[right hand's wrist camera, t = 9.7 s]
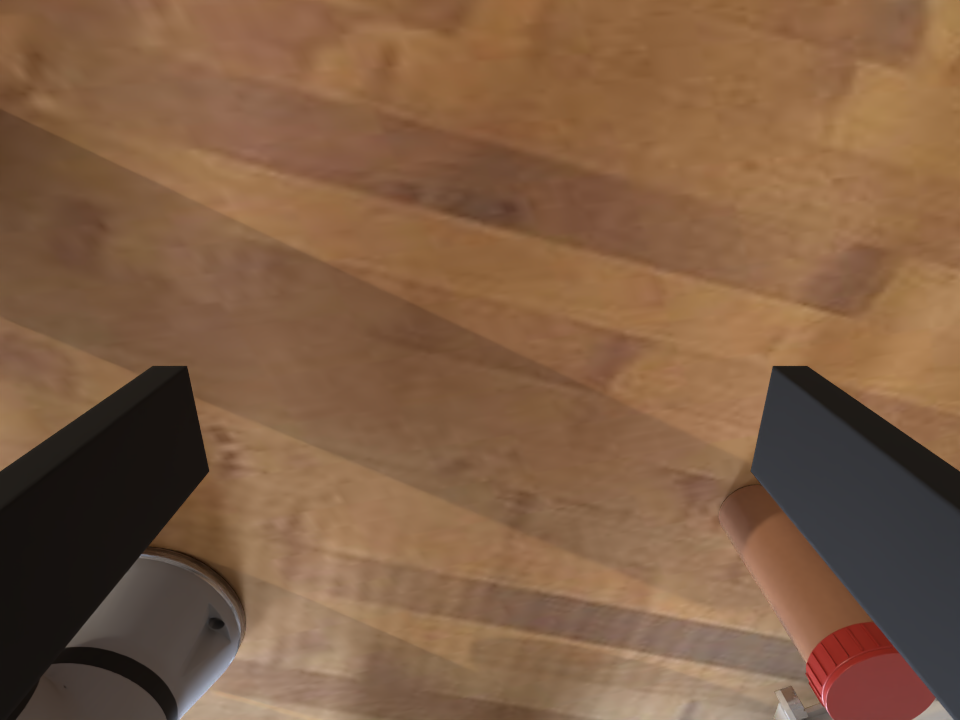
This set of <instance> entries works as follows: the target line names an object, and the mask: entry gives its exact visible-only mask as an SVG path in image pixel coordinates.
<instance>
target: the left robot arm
mask: <svg viewBox="0 0 960 720" xmlns="http://www.w3.org/2000/svg"><path fill="white" fill-rule="evenodd" d="M775 694H776V696H777V698H778V700H779V701H780V703H779V704H778V707H777V710H776V713H775V715H774V718H775V720H834V719H833V718H832V717H831V716H830V715H829V713H828V712H827V710H826V708H825V707H823V706H822V704H821V703H819V704H816V705H813V706H811V707H808V708H805V709H804V707H803V705H802V703H801V702H800V700H799V698H798V696H797V695H796V693H795V691H794V689H793V687H792V686H789V687H787V688H784V689H781V690H777V691H775ZM912 720H953V718H952V717H951V716H950V715H949V713H948V712H947V711H946V710H945V709H944V707H943V706H942V705H941V704H940V702H939V701H938V700H937V699H936V698H935V700H934V701H933V703H932V704H931V705H930V706H929V707H928V708H927V709H926V710H925V711H924V712H923V713H921V714H920V715H919V716H917V717H916V718H914V719H912Z"/></svg>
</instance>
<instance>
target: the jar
mask: <svg viewBox="0 0 960 720" xmlns="http://www.w3.org/2000/svg"><path fill="white" fill-rule="evenodd" d="M719 522H720V525H721V527H722V529H723V530H724V532H725V533H726V535H727V537H728V538H729V540H730V542H731V543H732V545H733V546H734V548H735V550H736V551H737V553H738V554H739V556H740V558H741V559H742V561H743V563H744V564H745V566H746V567H747V569H748V571H749V572H750V574H751V575H752V577H753V579H754V580H755V582H756V584H757V585H758V587H759V588H760V590H761V592H762V593H763V595H764V597H765V598H766V600H767V601H768V603H769V605H770V606H771V608H772V609H773V611H774V613H775V614H776V616H777V618H778V619H779V621H780V622H781V624H782V626H783V627H784V629H785V630H786V632H787V634H788V635H789V637H790V639H791V640H792V642H793V643H794V645H795V647H796V648H797V650H798V651H799V653H800V655H801V656H802V658H803V660H804V661H805V663H807V661H808V658H809V656H810V654H811V652H812V651H813V649H814V648H815V647H816V646H817V644H818V643H819V642H821V641H822V640H823V639H824V638H825V637H827V636H828V635H830V634H831V633H833V632H835V631H837V630H839V629H841V628H844V627H847V626H850V625H853V624H858V623H865V622H873V620H872V619H871V618H870V617H869V615H868V614H867V613H866V612H865V611H864V609H863V608H862V607H861V606H860V604H859V603H858V602H857V601H856V600H855V598H854V597H853V596H852V595H851V593H850V592H849V591H848V590H847V589H846V587H845V586H844V585H843V584H842V582H841V581H840V580H839V579H838V578H837V576H836V575H835V574H834V573H833V571H832V570H831V569H830V568H829V567H828V565H827V564H826V563H825V562H824V560H823V559H822V558H821V557H820V555H819V554H818V553H817V552H816V551H815V549H814V548H813V547H812V546H811V544H810V543H809V542H808V541H807V540H806V538H805V537H804V536H803V535H802V533H801V532H800V531H799V530H798V529H797V527H796V526H795V525H794V524H793V522H792V521H791V520H790V519H789V518H788V516H787V515H786V514H785V513H784V511H783V510H782V509H781V508H780V507H779V505H778V504H777V503H776V502H775V500H774V499H773V498H772V497H771V496H770V494H769V493H768V492H767V491H766V489H765V488H764V487H763V486H762V485H750V486H746V487H743V488H741V489H738V490H737V491H735V492H733V493H732V494H731V495H729V496H728V497H727V498H726V500H725V501H724V502H723V504H722V506H721V508H720V511H719Z"/></svg>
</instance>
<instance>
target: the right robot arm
mask: <svg viewBox="0 0 960 720" xmlns="http://www.w3.org/2000/svg"><path fill="white" fill-rule="evenodd" d="M208 472H209V468H208V463H207V458H206V453H205V449H204V444H203V439H202V435H201V430H200V425H199V420H198V416H197V411H196V406H195V401H194V397H193V392H192V387H191V383H190V378H189V373H188V368H187V366H152V367H151V368H149V369H148V370H146V371H145V372H144V373H142V374H141V375H139V376H138V377H136V378H135V379H133V380H132V381H131V382H129V383H128V384H126V385H125V386H123V387H122V388H120V389H119V390H117V391H116V392H115V393H113V394H112V395H110V396H109V397H107V398H106V399H104V400H103V401H102V402H100V403H99V404H97V405H96V406H94V407H93V408H91V409H90V410H89V411H87V412H86V413H84V414H83V415H81V416H80V417H78V418H77V419H76V420H74V421H73V422H71V423H70V424H68V425H67V426H65V427H64V428H63V429H61V430H60V431H58V432H57V433H55V434H54V435H52V436H51V437H50V438H48V439H47V440H45V441H44V442H42V443H41V444H39V445H38V446H36V447H35V448H34V449H32V450H31V451H29V452H28V453H26V454H25V455H23V456H22V457H21V458H19V459H18V460H16V461H15V462H13V463H12V464H10V465H9V466H8V467H6V468H5V469H3V470H2V471H0V720H179V719H180V718H181V717H182V716H183V715H184V714H185V713H186V712H187V711H188V710H189V709H190V708H191V707H192V706H193V705H194V703H195V702H196V701H197V700H198V699H199V698H200V697H201V696H202V695H203V694H204V693H205V692H206V691H207V690H208V689H209V688H210V687H211V686H212V684H213V683H214V682H215V681H216V680H217V679H218V678H219V677H220V676H221V675H222V674H223V673H224V672H225V670H226V669H227V667H228V666H229V665H230V663H231V662H232V660H233V659H234V657H235V655H236V653H237V651H238V649H239V647H240V645H241V643H242V640H243V637H244V633H245V625H246V623H245V615H244V610H243V607H242V605H241V602H240V600H239V598H238V597H237V595H236V593H235V592H234V590H233V589H232V588H231V586H230V585H229V584H228V583H227V582H226V581H225V580H224V579H223V578H222V577H221V576H220V575H219V574H217V573H216V572H215V571H214V570H212V569H211V568H209V567H208V566H206V565H205V564H203V563H201V562H199V561H198V560H196V559H193V558H191V557H189V556H187V555H184V554H181V553H178V552H175V551H172V550H167V549H163V548H156V547H148V546H149V544H150V543H151V542H152V541H153V540H154V538H155V537H156V536H157V535H158V533H159V532H160V531H161V530H162V529H163V527H164V526H165V525H166V524H167V522H168V521H169V520H170V519H171V518H172V516H173V515H174V514H175V513H176V511H177V510H178V509H179V508H180V507H181V505H182V504H183V503H184V502H185V500H186V499H187V498H188V497H189V496H190V494H191V493H192V492H193V491H194V489H195V488H196V487H197V486H198V484H199V483H200V482H201V481H202V480H203V478H204V477H205V476H206V475H207V473H208ZM751 472H752V473H753V475H754V476H755V477H756V478H757V480H758V481H759V482H760V483H761V484H762V486H763V487H764V488H765V489H766V491H767V492H768V493H769V494H770V496H771V497H772V498H773V499H774V500H775V502H776V503H777V504H778V505H779V507H780V508H781V509H782V510H783V511H784V513H785V514H786V515H787V516H788V518H789V519H790V520H791V521H792V522H793V524H794V525H795V526H796V527H797V529H798V530H799V531H800V532H801V533H802V535H803V536H804V537H805V538H806V540H807V541H808V542H809V543H810V544H811V546H812V547H813V548H814V549H815V551H816V552H817V553H818V554H819V555H820V557H821V558H822V559H823V560H824V562H825V563H826V564H827V565H828V567H829V568H830V569H831V570H832V571H833V573H834V574H835V575H836V576H837V578H838V579H839V580H840V581H841V582H842V584H843V585H844V586H845V587H846V589H847V590H848V591H849V592H850V593H851V595H852V596H853V597H854V598H855V600H856V601H857V602H858V603H859V604H860V606H861V607H862V608H863V609H864V611H865V612H866V613H867V614H868V615H869V617H870V618H871V619H872V620H873V622H874V623H875V624H876V625H877V626H878V628H879V629H880V630H881V631H882V633H883V634H884V635H885V636H886V638H887V639H888V640H889V641H890V642H891V644H892V645H893V646H894V647H895V649H896V650H897V651H898V652H899V653H900V655H901V656H902V657H903V658H904V660H905V661H906V662H907V663H908V664H909V666H910V667H911V668H912V669H913V671H914V672H915V673H916V674H917V675H918V677H919V678H920V679H921V680H922V682H923V683H924V684H925V685H926V686H927V688H928V689H929V690H930V691H931V693H932V694H933V695H934V696H935V697H936V699H937V700H938V701H939V702H940V704H941V705H942V706H943V707H944V709H945V710H946V711H947V712H948V713H949V715H950V716H951V717H952V718H953V720H960V471H958V470H957V469H955V468H954V467H952V466H951V465H950V464H948V463H947V462H945V461H944V460H942V459H941V458H939V457H938V456H937V455H935V454H934V453H932V452H931V451H929V450H928V449H926V448H925V447H924V446H922V445H921V444H919V443H918V442H916V441H915V440H913V439H912V438H911V437H909V436H908V435H906V434H905V433H903V432H902V431H900V430H899V429H897V428H896V427H895V426H893V425H892V424H890V423H889V422H887V421H886V420H884V419H883V418H882V417H880V416H879V415H877V414H876V413H874V412H873V411H871V410H870V409H869V408H867V407H866V406H864V405H863V404H861V403H860V402H858V401H857V400H856V399H854V398H853V397H851V396H850V395H848V394H847V393H845V392H844V391H843V390H841V389H840V388H838V387H837V386H835V385H834V384H832V383H831V382H829V381H828V380H827V379H825V378H824V377H822V376H821V375H819V374H818V373H816V372H815V371H814V370H812V369H811V368H809V367H808V366H773V368H772V373H771V378H770V383H769V387H768V392H767V397H766V401H765V406H764V411H763V416H762V420H761V425H760V430H759V435H758V439H757V444H756V449H755V453H754V458H753V463H752V468H751Z"/></svg>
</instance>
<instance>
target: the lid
mask: <svg viewBox="0 0 960 720" xmlns="http://www.w3.org/2000/svg"><path fill="white" fill-rule="evenodd" d="M806 664H807V665H806V676H807V677H808V680H809V684H810V686H811V688H812V689H813V691H814V693H815V694H816V696H817V698H818V699H819V701H820V703H821V704H822V706H823V707H825V708H826V710H827V712H828V713H829V715H830V716H831V717H832V718H833V719H834V720H912V719H914V718H916V717H917V716H919V715H920V714H921V713H923V712H924V711H925V710H926V709H927V708H928V707H929V706H930V705H931V704H932V703H933V701H934V700H935V698H936V697H935V696H934V695H933V694H932V693H931V691H930V690H929V689H928V688H927V686H926V685H925V684H924V683H923V682H922V680H921V679H920V678H919V677H918V675H917V674H916V673H915V672H914V671H913V669H912V668H911V667H910V666H909V664H908V663H907V662H906V661H905V660H904V658H903V657H902V656H901V655H900V653H899V652H898V651H897V650H896V649H895V647H894V646H893V645H892V644H891V642H890V641H889V640H888V639H887V638H886V636H885V635H884V634H883V633H882V631H881V630H880V629H879V628H878V626H877V625H876V624H875V623H874V622H865V623H858V624H853V625H850V626H847V627H844V628H841V629H839V630H837V631H835V632H833V633H831V634H830V635H828V636H827V637H825V638H824V639H823V640H822V641H821V642H819V643H818V644H817V646H816V647H815V648H814V649H813V651H812V652H811V654H810V656H809V658H808V661H807V663H806Z"/></svg>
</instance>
